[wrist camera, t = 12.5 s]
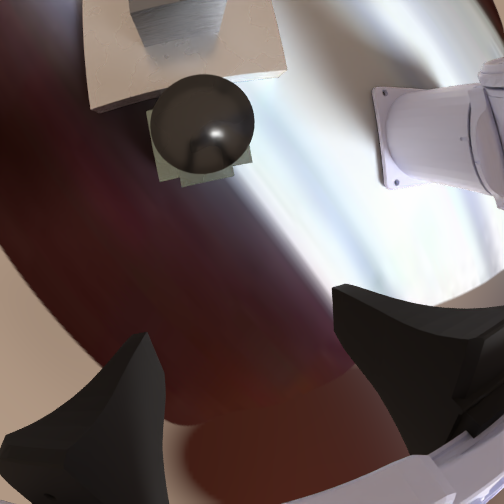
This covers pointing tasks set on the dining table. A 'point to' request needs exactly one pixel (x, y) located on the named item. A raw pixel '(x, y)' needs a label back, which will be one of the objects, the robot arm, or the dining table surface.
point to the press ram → (202, 124)
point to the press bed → (176, 61)
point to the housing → (175, 19)
